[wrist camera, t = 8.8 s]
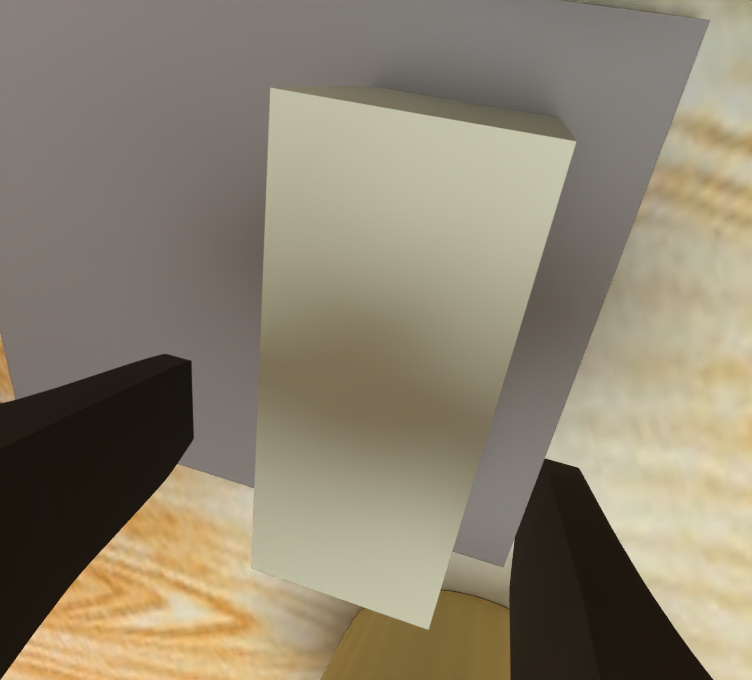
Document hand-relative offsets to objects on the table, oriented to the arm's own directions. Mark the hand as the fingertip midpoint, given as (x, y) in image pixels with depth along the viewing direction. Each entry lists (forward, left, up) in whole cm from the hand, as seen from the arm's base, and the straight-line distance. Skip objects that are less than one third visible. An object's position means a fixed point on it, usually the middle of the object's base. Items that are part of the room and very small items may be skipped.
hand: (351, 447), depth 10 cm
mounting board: (-6, 0, -8) cm, 10 cm away
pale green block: (0, 0, -7) cm, 7 cm away
